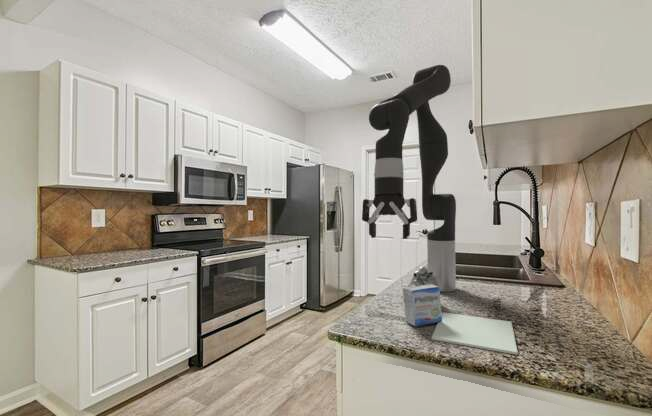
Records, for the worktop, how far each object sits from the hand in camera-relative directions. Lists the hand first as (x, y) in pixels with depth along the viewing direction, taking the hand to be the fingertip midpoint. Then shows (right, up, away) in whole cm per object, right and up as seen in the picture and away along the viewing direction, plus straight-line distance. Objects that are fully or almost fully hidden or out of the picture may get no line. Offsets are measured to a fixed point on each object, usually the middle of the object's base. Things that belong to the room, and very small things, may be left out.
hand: (388, 238), depth 83 cm
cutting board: (+18, -21, -10) cm, 29 cm away
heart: (+12, -21, +11) cm, 26 cm away
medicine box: (+8, -21, -5) cm, 22 cm away
